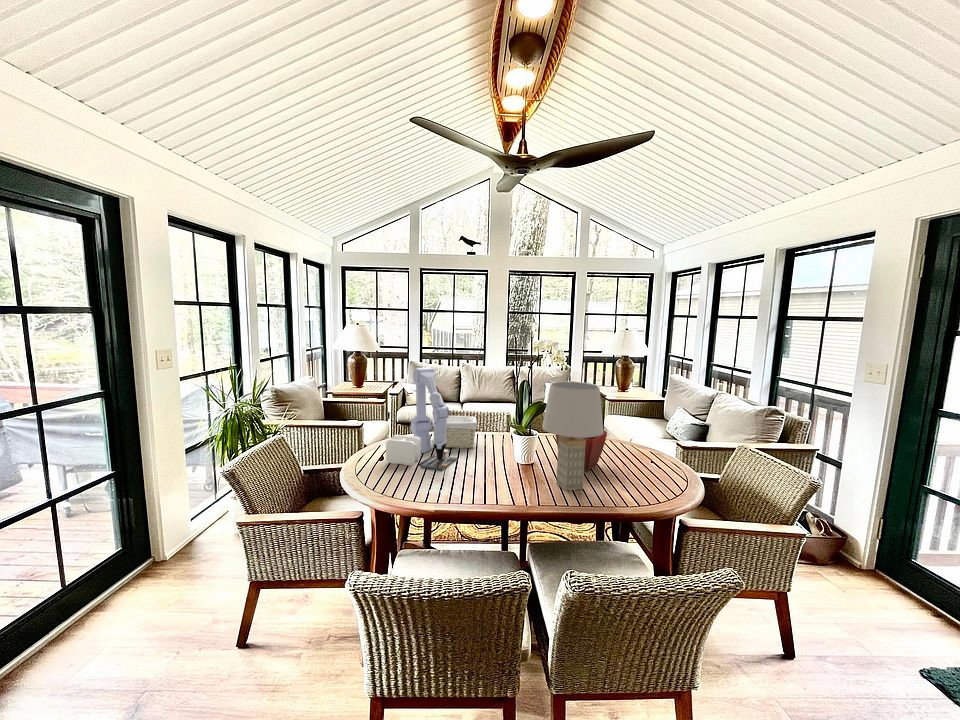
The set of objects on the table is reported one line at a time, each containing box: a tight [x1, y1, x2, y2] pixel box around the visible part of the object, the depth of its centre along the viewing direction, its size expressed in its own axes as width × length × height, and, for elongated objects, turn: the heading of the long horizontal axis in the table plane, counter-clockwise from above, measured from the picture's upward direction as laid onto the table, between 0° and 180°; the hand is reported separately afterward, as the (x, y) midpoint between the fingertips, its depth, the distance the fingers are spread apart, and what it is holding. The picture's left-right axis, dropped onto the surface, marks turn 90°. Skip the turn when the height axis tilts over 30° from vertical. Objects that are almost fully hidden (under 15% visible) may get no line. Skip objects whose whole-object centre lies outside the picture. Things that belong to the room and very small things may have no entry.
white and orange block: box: [442, 448, 449, 460], centre depth 211 cm, size 3×4×4 cm
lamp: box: [541, 381, 604, 492], centre depth 182 cm, size 25×25×44 cm
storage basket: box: [431, 415, 478, 449], centre depth 238 cm, size 24×16×15 cm
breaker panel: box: [420, 454, 458, 472], centre depth 208 cm, size 17×11×2 cm, turn 159°
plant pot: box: [555, 430, 608, 472], centre depth 211 cm, size 19×19×17 cm
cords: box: [417, 454, 436, 467], centre depth 211 cm, size 15×2×1 cm, turn 159°
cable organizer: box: [385, 434, 422, 466], centre depth 209 cm, size 15×11×12 cm
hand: (439, 459), depth 208 cm, fingers closed
